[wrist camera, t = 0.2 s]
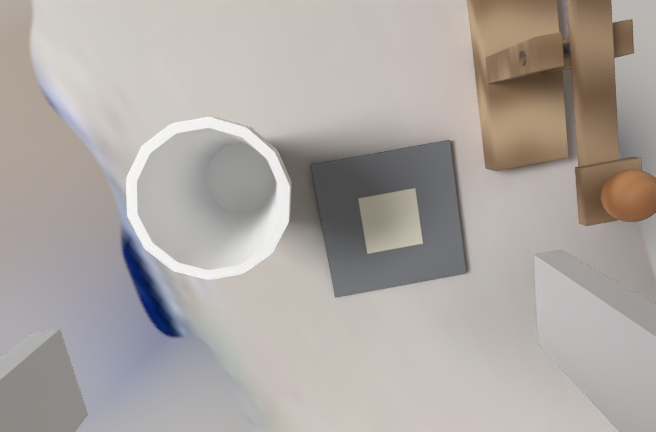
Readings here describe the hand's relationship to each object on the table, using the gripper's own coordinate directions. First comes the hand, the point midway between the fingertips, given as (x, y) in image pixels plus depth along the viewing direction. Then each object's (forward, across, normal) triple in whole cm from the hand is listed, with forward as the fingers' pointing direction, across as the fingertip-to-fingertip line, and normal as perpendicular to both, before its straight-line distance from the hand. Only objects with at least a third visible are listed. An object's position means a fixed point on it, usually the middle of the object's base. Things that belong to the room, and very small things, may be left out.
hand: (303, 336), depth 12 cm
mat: (+27, +6, -4) cm, 28 cm away
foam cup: (+27, -6, +1) cm, 28 cm away
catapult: (+28, +18, +4) cm, 33 cm away
